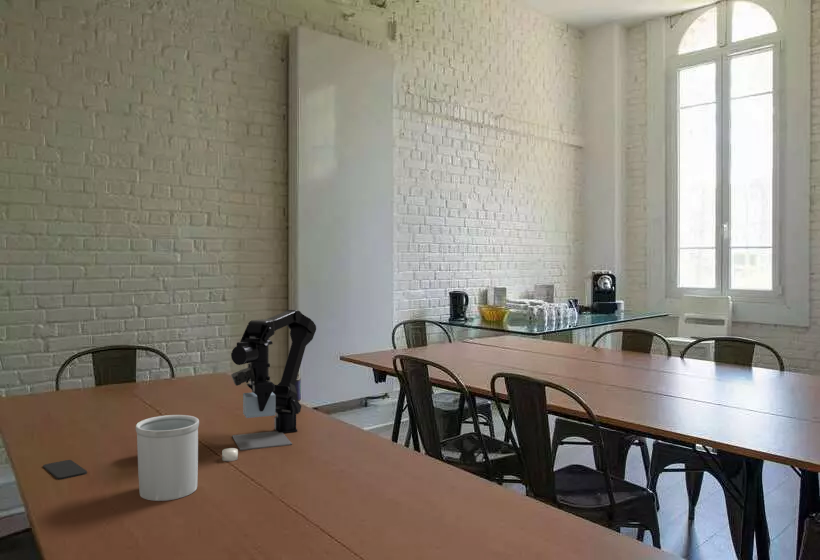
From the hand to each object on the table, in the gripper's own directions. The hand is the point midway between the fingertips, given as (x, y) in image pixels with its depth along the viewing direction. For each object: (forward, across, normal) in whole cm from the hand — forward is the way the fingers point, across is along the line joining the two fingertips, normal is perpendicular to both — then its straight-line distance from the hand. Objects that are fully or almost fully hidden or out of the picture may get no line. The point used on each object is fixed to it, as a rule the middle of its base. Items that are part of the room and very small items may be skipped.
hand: (259, 408), depth 202 cm
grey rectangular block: (+2, 0, 0) cm, 2 cm away
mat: (+11, -1, +1) cm, 11 cm away
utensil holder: (+11, +34, -29) cm, 46 cm away
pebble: (+10, +14, -11) cm, 21 cm away
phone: (+11, +7, -54) cm, 56 cm away
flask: (+11, -55, +26) cm, 62 cm away
